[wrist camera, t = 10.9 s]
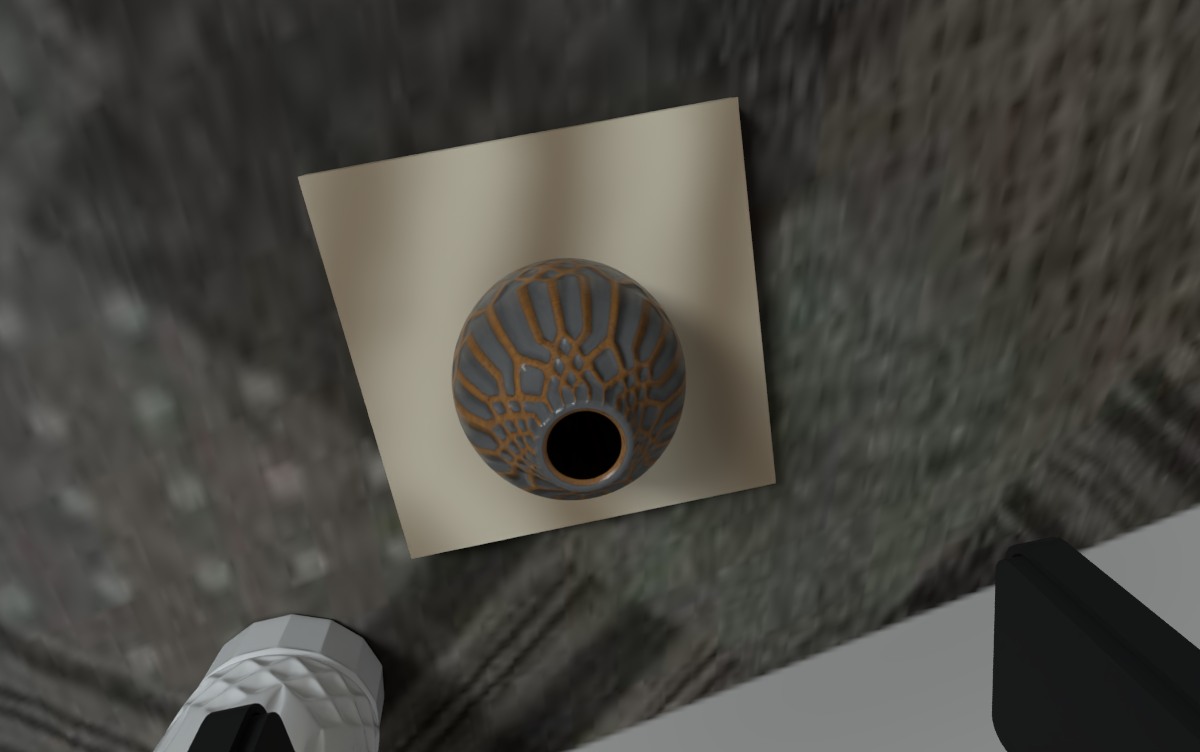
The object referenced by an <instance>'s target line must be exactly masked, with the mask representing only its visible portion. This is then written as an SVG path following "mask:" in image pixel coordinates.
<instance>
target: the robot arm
mask: <svg viewBox="0 0 1200 752" xmlns="http://www.w3.org/2000/svg"><path fill="white" fill-rule="evenodd" d="M992 697H993V698H992V720H993V724H994V728H995V731H996V733H997V735H998V737H999V740H1000V741H1001V743H1002V745H1003V746H1004V747H1005V749H1006V751H1007V752H1200V650H1199V649H1198V648H1197V647H1196V646H1194V645H1193V644H1192V643H1191V642H1189V641H1188V640H1187V639H1186V638H1185V637H1183V636H1182V635H1181V634H1180V633H1178V632H1177V631H1176V630H1175V629H1173V628H1172V627H1171V626H1170V625H1169V624H1167V623H1166V622H1165V621H1164V620H1162V619H1161V618H1160V617H1158V616H1157V615H1156V614H1155V613H1154V612H1152V611H1151V610H1150V609H1149V608H1147V607H1146V606H1145V605H1144V604H1142V603H1141V602H1140V601H1139V600H1138V599H1136V598H1135V597H1134V596H1133V595H1131V594H1130V593H1129V592H1128V591H1126V590H1125V589H1124V588H1123V587H1121V586H1120V585H1119V584H1118V583H1116V582H1115V581H1114V580H1113V579H1111V578H1110V577H1109V576H1108V575H1107V574H1105V573H1104V572H1103V571H1102V570H1100V569H1099V568H1098V567H1097V566H1095V565H1094V564H1093V563H1092V562H1090V561H1089V560H1088V559H1087V558H1086V557H1084V556H1083V555H1082V554H1081V553H1079V552H1078V551H1077V550H1076V549H1074V548H1073V547H1072V546H1071V545H1069V544H1068V543H1067V542H1065V541H1064V540H1062V539H1060V538H1056V537H1051V538H1046V539H1041V540H1037V541H1032V542H1027V543H1022V544H1017V545H1013V546H1011V547H1009V549H1008V551H1007V552H1006V558H1005V559H1003V560H1000V561H999V562H998V563H997V566H996V583H995V621H994V658H993V696H992ZM187 752H295V750H294V748H293V745H292V743H291V740H290V738H289V736H288V733H287V731H286V728H285V726H284V724H283V721H282V719H281V717H280V715H279V714H278V713H276V712H270V713H267V712H266V710H265V708H264V707H263V706H262V705H261V704H259V703H253V704H249V705H244V706H239V707H234V708H229V709H225V710H220V711H215V712H211V713H210V714H208V715H207V716H206V717H205V719H204V720H203V722H202V723H201V725H200V727H199V729H198V731H197V733H196V735H195V737H194V739H193V741H192V743H191V745H190V747H189V749H188V751H187Z"/></svg>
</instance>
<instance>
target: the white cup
mask: <svg viewBox="0 0 1200 752" xmlns="http://www.w3.org/2000/svg"><path fill="white" fill-rule="evenodd" d="M383 702H384V684H383V670H382V665H381V663H380V662H379V660H378V659H377V657H376V656H375V654H374V653H373V651H372V650H371V649H370V647H369V646H368V644H367V643H366V641H365V640H364V639H363V638H362V637H361V636H359V635H357V634H355V633H354V632H352V631H350V630H348V629H347V628H345V627H343V626H341V625H340V624H338V623H336V622H334V621H333V620H330V619H323V618H316V617H309V616H302V615H296V614H290V615H286V616H281V617H277V618H273V619H268V620H264V621H260V622H255V623H253V624H251V625H250V626H249V627H247V628H246V629H245V630H243V631H242V632H241V633H239V634H238V635H237V636H235V637H234V638H233V639H231V640H230V641H229V642H227V643H226V644H225V645H224V646H223V647H222V649H221V651H220V652H219V654H218V655H217V657H216V659H215V660H214V662H213V664H212V665H211V667H210V669H209V670H208V672H207V674H206V675H205V677H204V679H203V680H202V682H201V684H200V685H199V687H198V688H197V689H196V690H195V692H194V693H193V694H192V695H191V696H190V698H189V699H188V700H187V701H186V703H185V704H184V705H183V707H182V708H181V710H180V711H179V713H178V714H177V716H176V717H175V719H174V720H173V722H172V723H171V725H170V727H169V728H168V730H167V732H166V733H165V735H164V736H163V737H162V739H161V740H160V742H159V743H158V745H157V746H156V747H155V749H154V750H153V752H187V751H188V749H189V747H190V745H191V743H192V741H193V739H194V737H195V735H196V733H197V731H198V729H199V727H200V725H201V723H202V722H203V720H204V719H205V717H206V716H207V715H208V714H210V713H211V712H215V711H220V710H225V709H229V708H234V707H239V706H244V705H249V704H253V703H259V704H261V705H262V706H263V707H264V708H265V710H266V712H267V713H270V712H276V713H278V714H279V715H280V717H281V719H282V721H283V724H284V726H285V728H286V731H287V733H288V736H289V738H290V740H291V743H292V745H293V748H294V750H295V752H378V749H379V737H380V730H379V727H380V720H381V714H382V708H383Z"/></svg>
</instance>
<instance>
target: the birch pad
mask: <svg viewBox="0 0 1200 752" xmlns="http://www.w3.org/2000/svg"><path fill="white" fill-rule="evenodd" d="M298 180H299V183H300V186H301V190H302V193H303V196H304V200H305V203H306V206H307V210H308V213H309V216H310V220H311V223H312V226H313V230H314V233H315V237H316V240H317V243H318V247H319V250H320V253H321V257H322V260H323V263H324V267H325V270H326V273H327V277H328V280H329V283H330V287H331V290H332V294H333V297H334V300H335V304H336V307H337V310H338V314H339V317H340V320H341V324H342V327H343V330H344V334H345V337H346V340H347V344H348V347H349V351H350V354H351V357H352V361H353V364H354V367H355V371H356V374H357V377H358V381H359V384H360V387H361V391H362V394H363V398H364V401H365V404H366V408H367V411H368V414H369V418H370V421H371V424H372V428H373V431H374V434H375V438H376V441H377V444H378V448H379V451H380V455H381V458H382V461H383V465H384V468H385V471H386V475H387V478H388V481H389V485H390V488H391V491H392V495H393V498H394V501H395V505H396V508H397V512H398V515H399V518H400V522H401V525H402V528H403V532H404V535H405V538H406V542H407V545H408V548H409V552H410V555H411V558H412V559H413V558H418V557H423V556H427V555H432V554H437V553H442V552H447V551H452V550H456V549H461V548H466V547H471V546H476V545H481V544H485V543H490V542H495V541H500V540H505V539H509V538H514V537H519V536H524V535H529V534H534V533H538V532H543V531H548V530H553V529H558V528H563V527H567V526H572V525H577V524H582V523H587V522H592V521H596V520H601V519H606V518H611V517H616V516H620V515H625V514H630V513H635V512H640V511H645V510H649V509H654V508H659V507H664V506H669V505H674V504H678V503H683V502H688V501H693V500H698V499H702V498H707V497H712V496H717V495H722V494H727V493H731V492H736V491H741V490H746V489H751V488H756V487H760V486H765V485H770V484H775V483H776V479H775V469H774V459H773V449H772V438H771V428H770V418H769V408H768V398H767V388H766V378H765V368H764V358H763V348H762V337H761V327H760V317H759V307H758V297H757V287H756V277H755V267H754V257H753V247H752V236H751V226H750V216H749V206H748V196H747V186H746V176H745V166H744V156H743V146H742V135H741V125H740V115H739V105H738V97H735V98H725V99H719V100H714V101H708V102H703V103H697V104H692V105H686V106H680V107H675V108H669V109H664V110H658V111H653V112H647V113H642V114H636V115H631V116H625V117H620V118H614V119H609V120H603V121H598V122H592V123H587V124H581V125H576V126H570V127H565V128H559V129H554V130H548V131H543V132H537V133H532V134H526V135H521V136H515V137H509V138H504V139H498V140H493V141H487V142H482V143H476V144H471V145H465V146H460V147H454V148H449V149H443V150H438V151H432V152H427V153H421V154H416V155H410V156H405V157H399V158H394V159H388V160H383V161H377V162H372V163H366V164H361V165H355V166H350V167H344V168H338V169H333V170H327V171H322V172H316V173H311V174H306V175H303V176H300V177H298ZM557 258H578V259H586V260H591V261H595V262H599V263H602V264H605V265H608V266H610V267H613V268H615V269H617V270H619V271H621V272H622V273H624V274H626V275H628V276H629V277H631V278H632V279H633V280H635V281H636V282H638V283H639V284H640V285H641V286H643V287H644V288H645V289H646V290H647V291H648V292H649V293H650V294H651V295H652V296H653V297H654V298H655V299H656V300H657V302H658V303H659V304H660V305H661V307H662V308H663V309H664V311H665V312H666V314H667V315H668V317H669V319H670V320H671V322H672V324H673V326H674V328H675V330H676V332H677V335H678V337H679V340H680V343H681V346H682V351H683V355H684V360H685V367H686V393H685V400H684V406H683V411H682V415H681V418H680V421H679V424H678V427H677V429H676V431H675V434H674V436H673V438H672V440H671V442H670V443H669V445H668V447H667V448H666V450H665V451H664V452H663V454H662V455H661V456H660V458H659V459H658V460H657V461H656V462H655V464H654V465H653V466H652V467H651V468H650V469H649V470H648V471H647V472H645V473H644V474H643V475H642V476H641V477H639V478H638V479H636V480H635V481H634V482H632V483H630V484H629V485H627V486H625V487H623V488H621V489H619V490H617V491H615V492H612V493H609V494H607V495H603V496H600V497H596V498H591V499H585V500H556V499H549V498H545V497H541V496H537V495H534V494H531V493H529V492H526V491H524V490H522V489H520V488H518V487H516V486H514V485H512V484H510V483H509V482H507V481H506V480H504V479H503V478H502V477H500V476H499V475H498V474H497V473H495V472H494V471H493V470H492V469H491V468H490V467H489V466H488V465H487V464H486V463H485V462H484V461H483V460H482V459H481V457H480V456H479V455H478V453H477V452H476V451H475V449H474V448H473V446H472V445H471V443H470V442H469V440H468V438H467V436H466V435H465V433H464V430H463V428H462V426H461V424H460V421H459V418H458V415H457V412H456V408H455V404H454V399H453V394H452V364H453V357H454V351H455V347H456V344H457V341H458V338H459V335H460V332H461V330H462V327H463V325H464V323H465V321H466V319H467V317H468V316H469V314H470V312H471V311H472V309H473V308H474V306H475V305H476V303H477V302H478V301H479V300H480V298H481V297H482V296H483V295H484V294H485V293H486V292H487V291H488V290H489V289H490V288H491V287H492V286H493V285H494V284H495V283H497V282H498V281H499V280H501V279H502V278H504V277H505V276H507V275H508V274H510V273H512V272H514V271H515V270H517V269H520V268H522V267H524V266H527V265H530V264H532V263H536V262H539V261H544V260H549V259H557Z"/></svg>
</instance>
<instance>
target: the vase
mask: <svg viewBox="0 0 1200 752" xmlns="http://www.w3.org/2000/svg"><path fill="white" fill-rule="evenodd" d="M685 393H686V367H685V360H684V355H683V351H682V346H681V343H680V340H679V337H678V335H677V332H676V330H675V328H674V326H673V324H672V322H671V320H670V319H669V317H668V315H667V314H666V312H665V311H664V309H663V308H662V307H661V305H660V304H659V303H658V302H657V300H656V299H655V298H654V297H653V296H652V295H651V294H650V293H649V292H648V291H647V290H646V289H645V288H644V287H643V286H641V285H640V284H639V283H638V282H636V281H635V280H633V279H632V278H631V277H629V276H628V275H626V274H624V273H622V272H621V271H619V270H617V269H615V268H613V267H610V266H608V265H605V264H602V263H599V262H595V261H591V260H586V259H578V258H557V259H549V260H544V261H539V262H536V263H532V264H530V265H527V266H524V267H522V268H520V269H517V270H515V271H514V272H512V273H510V274H508V275H507V276H505V277H504V278H502V279H501V280H499V281H498V282H497V283H495V284H494V285H493V286H492V287H491V288H490V289H489V290H488V291H487V292H486V293H485V294H484V295H483V296H482V297H481V298H480V300H479V301H478V302H477V303H476V305H475V306H474V308H473V309H472V311H471V312H470V314H469V316H468V317H467V319H466V321H465V323H464V325H463V327H462V330H461V332H460V335H459V338H458V341H457V344H456V347H455V351H454V357H453V364H452V394H453V399H454V404H455V408H456V412H457V415H458V418H459V421H460V424H461V426H462V428H463V430H464V433H465V435H466V436H467V438H468V440H469V442H470V443H471V445H472V446H473V448H474V449H475V451H476V452H477V453H478V455H479V456H480V457H481V459H482V460H483V461H484V462H485V463H486V464H487V465H488V466H489V467H490V468H491V469H492V470H493V471H494V472H495V473H497V474H498V475H499V476H500V477H502V478H503V479H504V480H506V481H507V482H509V483H510V484H512V485H514V486H516V487H518V488H520V489H522V490H524V491H526V492H529V493H531V494H534V495H537V496H541V497H545V498H549V499H556V500H585V499H591V498H596V497H600V496H603V495H607V494H609V493H612V492H615V491H617V490H619V489H621V488H623V487H625V486H627V485H629V484H630V483H632V482H634V481H635V480H636V479H638V478H639V477H641V476H642V475H643V474H644V473H645V472H647V471H648V470H649V469H650V468H651V467H652V466H653V465H654V464H655V462H656V461H657V460H658V459H659V458H660V456H661V455H662V454H663V452H664V451H665V450H666V448H667V447H668V445H669V443H670V442H671V440H672V438H673V436H674V434H675V431H676V429H677V427H678V424H679V421H680V418H681V415H682V411H683V406H684V400H685Z"/></svg>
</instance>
